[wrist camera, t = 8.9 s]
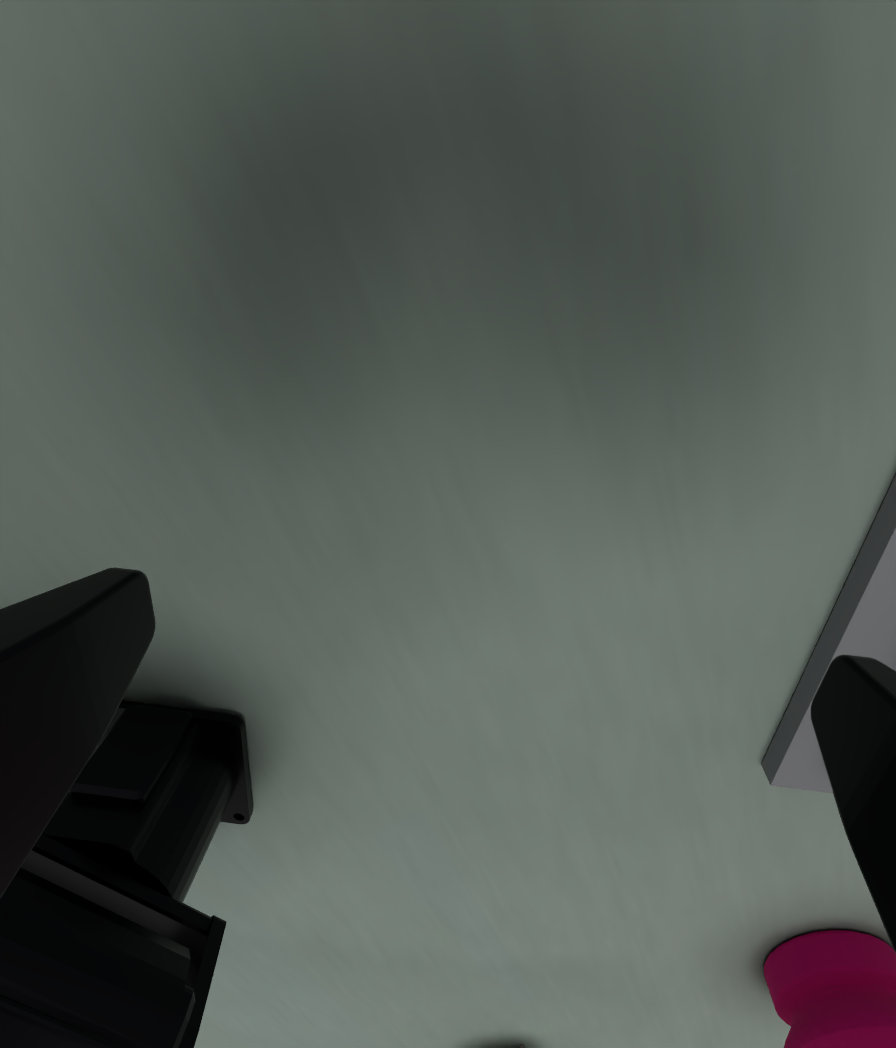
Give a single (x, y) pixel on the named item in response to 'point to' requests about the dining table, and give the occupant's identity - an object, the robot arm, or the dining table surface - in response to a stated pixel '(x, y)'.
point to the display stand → (841, 652)
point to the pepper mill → (835, 990)
